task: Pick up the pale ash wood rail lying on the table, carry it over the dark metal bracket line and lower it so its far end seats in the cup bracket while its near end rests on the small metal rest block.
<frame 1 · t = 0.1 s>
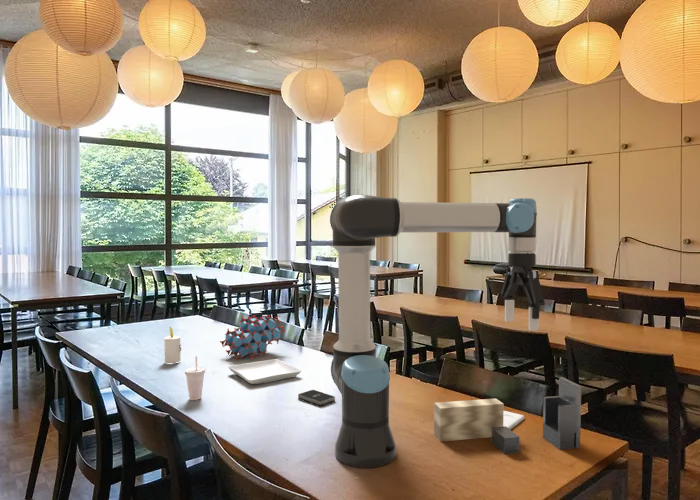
hand: (520, 325, 149), 28 cm above the table, tool pointing down, fingers open, 13 cm apart
external hard drive 2: (502, 423, 150), on the table
rest block: (505, 447, 132), on the table
rail: (468, 435, 140), on the table
molecule model: (253, 355, 227), on the table
external hard drive: (316, 402, 168), on the table
salad plate: (264, 377, 196), on the table
smoothie: (195, 399, 170), on the table
candle: (173, 362, 215), on the table
cup bracket: (558, 442, 135), on the table
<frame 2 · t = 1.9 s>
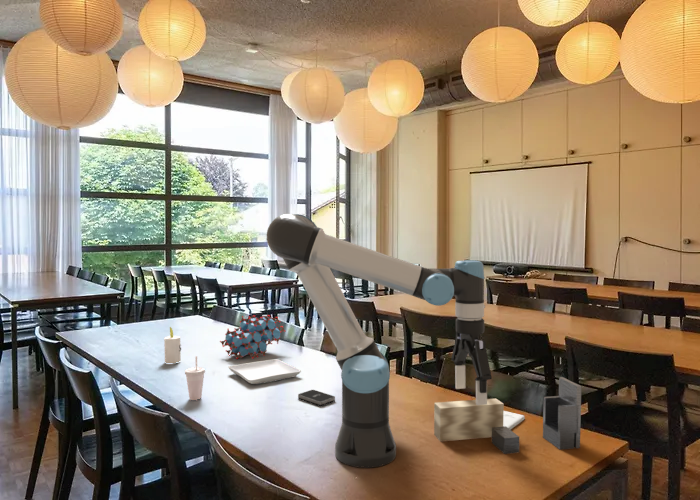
hand: (470, 396, 140), 11 cm above the table, tool pointing down, fingers open, 13 cm apart
nothing on the table moved.
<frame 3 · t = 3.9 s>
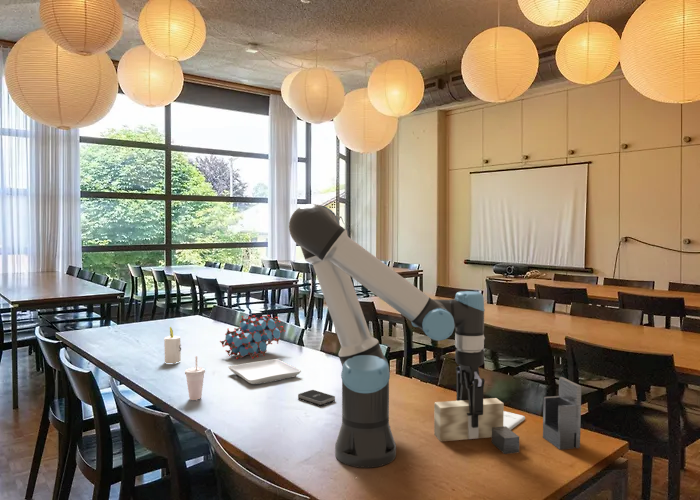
hand: (469, 434, 140), 0 cm above the table, tool pointing down, fingers closed on rail, 4 cm apart
rail: (468, 435, 140), on the table, touching gripper
everything else where it was.
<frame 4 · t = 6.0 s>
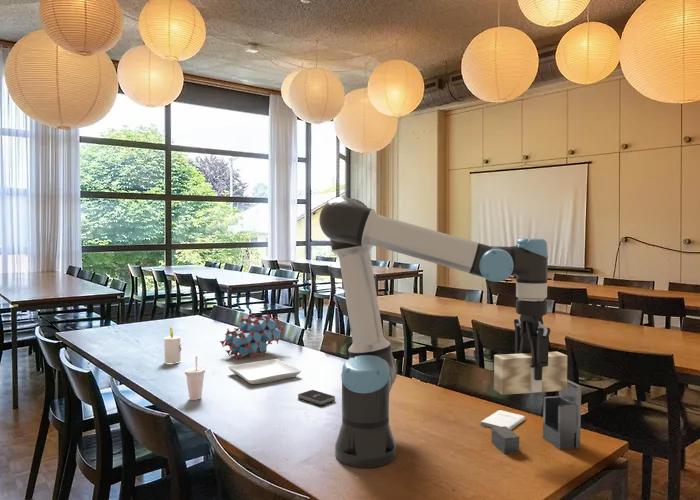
hand: (530, 388, 133), 15 cm above the table, tool pointing down, fingers closed on rail, 4 cm apart
rail: (530, 389, 133), point 15 cm above the table, touching gripper
everything else where it was.
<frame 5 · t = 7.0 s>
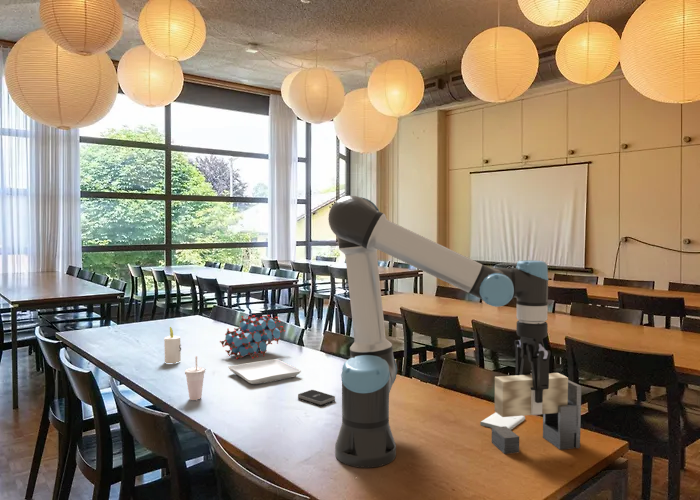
hand: (531, 410, 133), 9 cm above the table, tool pointing down, fingers closed on rail, 4 cm apart
rail: (530, 411, 133), point 9 cm above the table, touching gripper
everything else where it was.
when the fingers open (6 cm above the table, at t = 7.9 s): rail drops 1 cm, resting on cup bracket, rest block.
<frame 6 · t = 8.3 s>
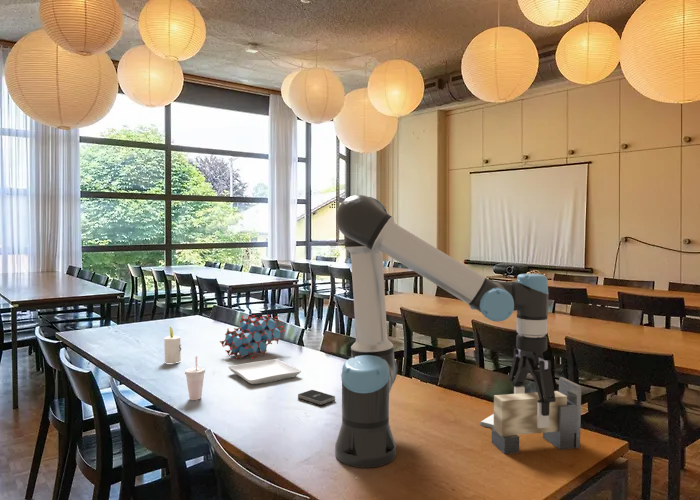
hand: (530, 418, 133), 7 cm above the table, tool pointing down, fingers open, 11 cm apart
rail: (529, 430, 133), point 4 cm above the table, touching cup bracket, rest block
everything else where it was.
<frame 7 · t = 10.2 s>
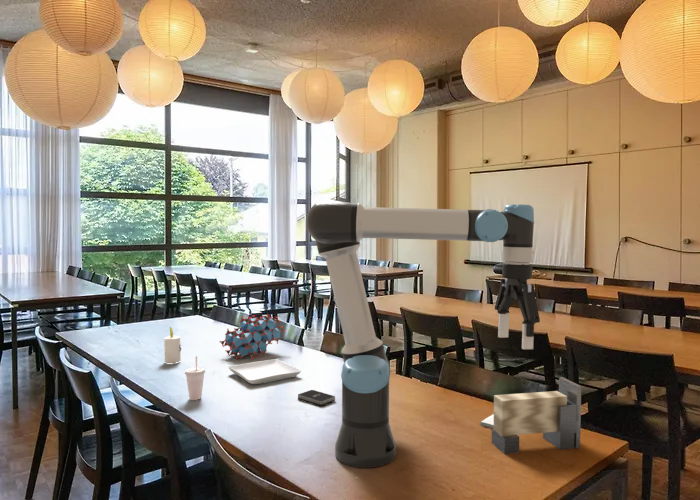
hand: (514, 342, 137), 26 cm above the table, tool pointing down, fingers open, 13 cm apart
nothing on the table moved.
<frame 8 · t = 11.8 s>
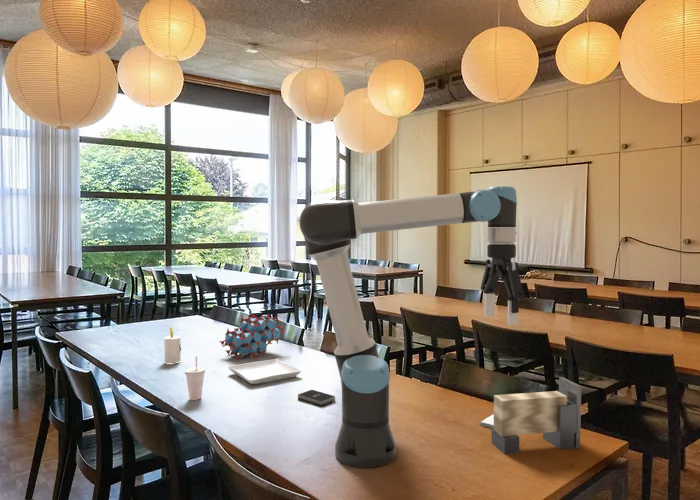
hand: (500, 320, 142), 31 cm above the table, tool pointing down, fingers open, 13 cm apart
nothing on the table moved.
at the end: rail 0.4 cm from the target spot, point 4.0 cm above the table; rail touching cup bracket, rest block; rail tilted 0° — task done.
